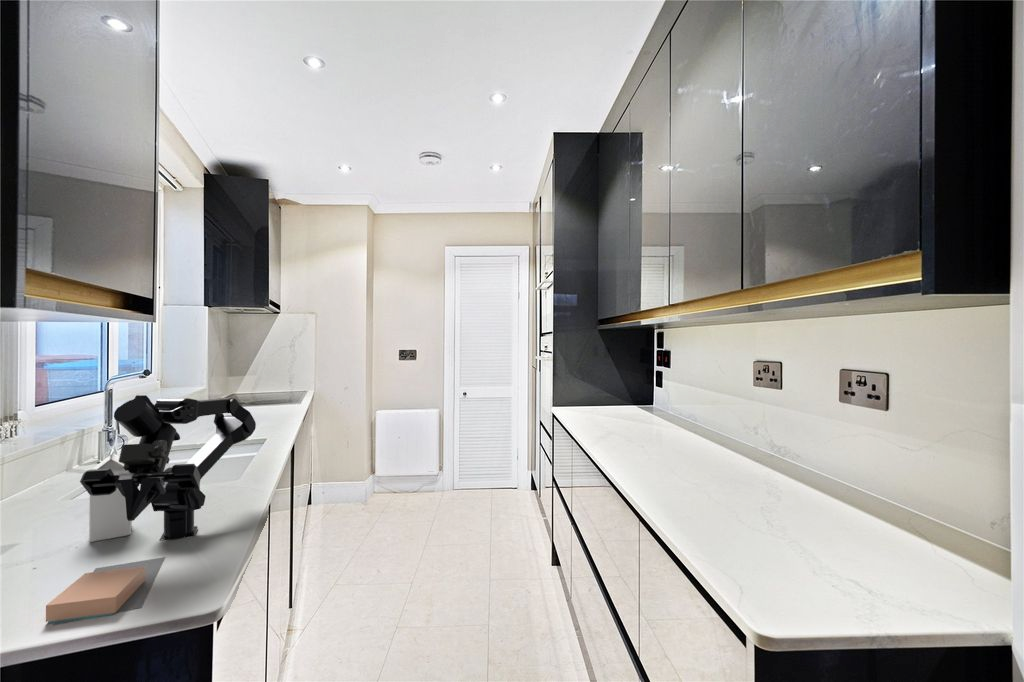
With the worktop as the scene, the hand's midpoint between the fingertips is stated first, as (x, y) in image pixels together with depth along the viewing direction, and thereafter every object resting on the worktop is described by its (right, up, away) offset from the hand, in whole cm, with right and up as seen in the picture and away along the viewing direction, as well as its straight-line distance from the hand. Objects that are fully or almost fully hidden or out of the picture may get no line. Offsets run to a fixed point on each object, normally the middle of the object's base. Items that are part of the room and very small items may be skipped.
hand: (130, 519), depth 91 cm
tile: (+1, -8, -5) cm, 10 cm away
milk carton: (-20, -11, +20) cm, 30 cm away
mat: (+2, -10, -5) cm, 12 cm away
